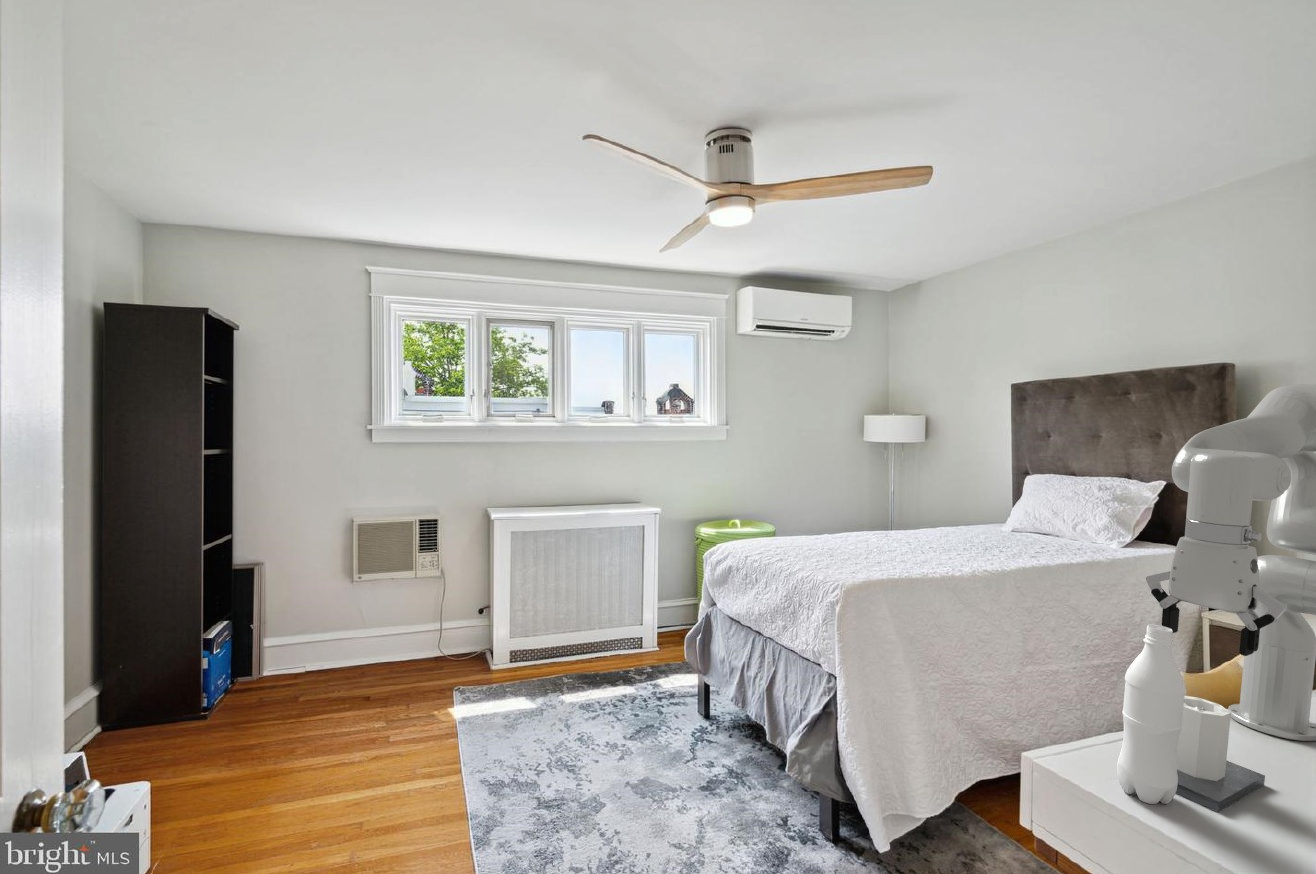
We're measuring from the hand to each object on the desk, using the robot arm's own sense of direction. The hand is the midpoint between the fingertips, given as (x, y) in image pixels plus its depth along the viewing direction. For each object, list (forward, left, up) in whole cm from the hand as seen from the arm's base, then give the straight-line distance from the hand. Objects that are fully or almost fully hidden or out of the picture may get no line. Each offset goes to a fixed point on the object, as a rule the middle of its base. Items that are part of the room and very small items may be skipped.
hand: (1207, 643), depth 102 cm
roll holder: (0, 0, -21) cm, 21 cm away
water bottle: (+13, -1, -21) cm, 25 cm away
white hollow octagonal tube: (0, 0, -20) cm, 20 cm away
